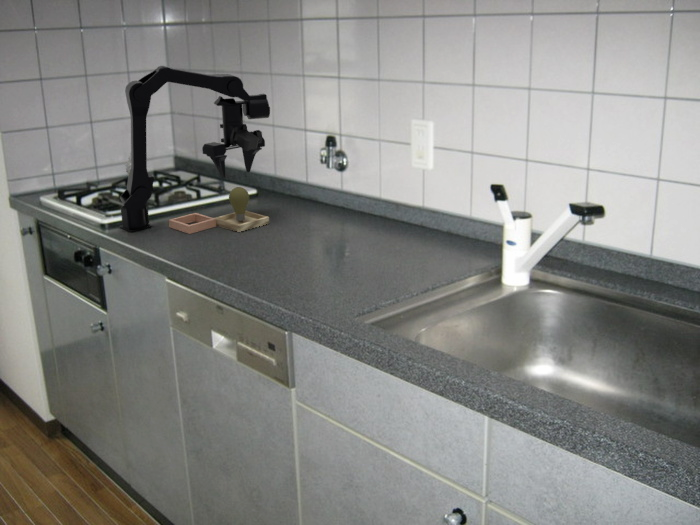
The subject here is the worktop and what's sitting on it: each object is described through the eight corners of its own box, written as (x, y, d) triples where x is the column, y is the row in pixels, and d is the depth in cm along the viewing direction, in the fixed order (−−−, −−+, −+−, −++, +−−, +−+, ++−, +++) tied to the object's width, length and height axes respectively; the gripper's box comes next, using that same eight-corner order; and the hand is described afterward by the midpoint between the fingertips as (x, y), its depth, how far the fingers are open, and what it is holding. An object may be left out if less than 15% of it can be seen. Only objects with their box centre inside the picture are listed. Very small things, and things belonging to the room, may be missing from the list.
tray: (239, 232, 210) (238, 225, 209) (213, 224, 217) (213, 218, 216) (269, 223, 217) (269, 217, 217) (243, 216, 224) (243, 209, 224)
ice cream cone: (127, 194, 249) (122, 148, 244) (143, 192, 251) (138, 147, 246) (130, 198, 245) (125, 151, 239) (146, 196, 247) (141, 149, 241)
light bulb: (227, 223, 215) (224, 189, 211) (235, 218, 220) (233, 184, 216) (245, 225, 213) (243, 190, 210) (253, 219, 218) (251, 185, 215)
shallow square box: (189, 234, 209) (188, 226, 208) (169, 227, 215) (168, 219, 214) (216, 226, 215) (215, 218, 215) (196, 220, 221) (195, 212, 221)
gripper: (225, 128, 205) (228, 185, 210) (276, 119, 218) (278, 173, 223) (199, 123, 212) (203, 179, 217) (250, 115, 225) (253, 167, 230)
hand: (236, 174), depth 222 cm, fingers open, 9 cm apart
